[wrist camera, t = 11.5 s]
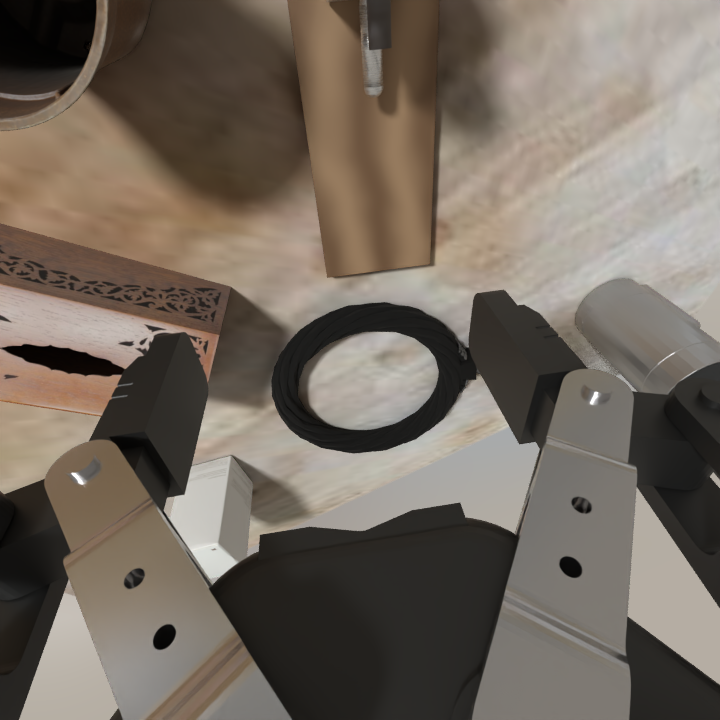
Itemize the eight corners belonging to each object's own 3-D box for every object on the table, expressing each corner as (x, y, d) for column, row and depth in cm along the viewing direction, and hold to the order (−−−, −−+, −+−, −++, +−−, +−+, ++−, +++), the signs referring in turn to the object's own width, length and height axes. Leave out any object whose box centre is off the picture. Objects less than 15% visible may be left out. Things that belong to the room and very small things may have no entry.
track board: (441, -226, 26) (564, -438, 14) (426, 258, 48) (471, 333, 36) (256, -213, 26) (225, -424, 14) (326, 271, 47) (337, 352, 35)
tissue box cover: (231, 285, 47) (219, 335, 40) (209, 375, 55) (196, 431, 47) (-44, 210, 39) (-127, 254, 31) (-23, 328, 47) (-85, 387, 39)
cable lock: (238, 343, 48) (484, 283, 47) (241, 325, 51) (473, 268, 50) (304, 474, 66) (485, 432, 65) (304, 455, 69) (477, 415, 68)
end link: (402, -61, 30) (470, -118, 18) (403, 91, 36) (455, 118, 24) (321, -53, 29) (339, -107, 18) (336, 98, 35) (356, 129, 24)
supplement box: (180, 467, 66) (156, 560, 54) (231, 453, 65) (218, 544, 54) (206, 496, 72) (190, 585, 60) (254, 483, 71) (247, 571, 60)
